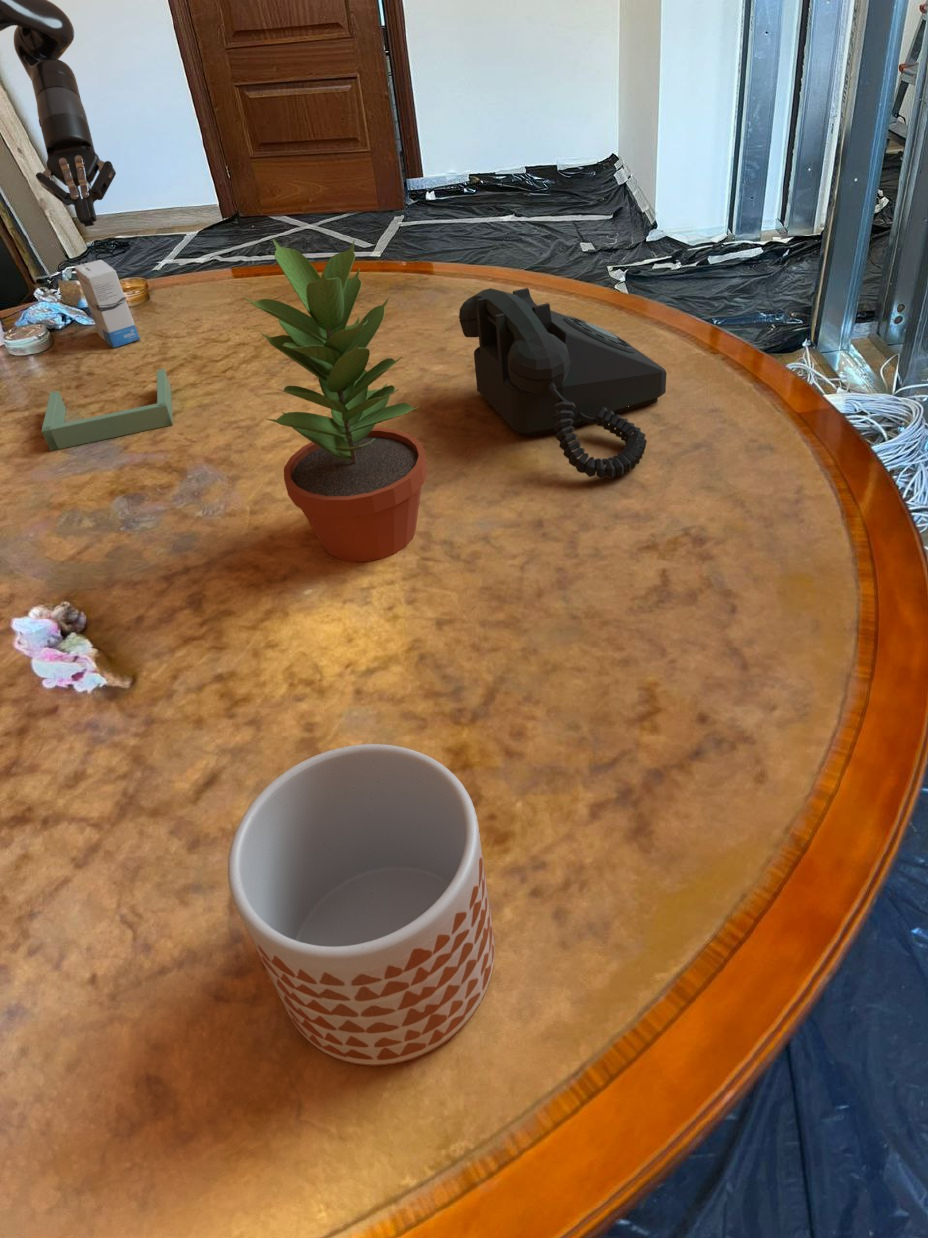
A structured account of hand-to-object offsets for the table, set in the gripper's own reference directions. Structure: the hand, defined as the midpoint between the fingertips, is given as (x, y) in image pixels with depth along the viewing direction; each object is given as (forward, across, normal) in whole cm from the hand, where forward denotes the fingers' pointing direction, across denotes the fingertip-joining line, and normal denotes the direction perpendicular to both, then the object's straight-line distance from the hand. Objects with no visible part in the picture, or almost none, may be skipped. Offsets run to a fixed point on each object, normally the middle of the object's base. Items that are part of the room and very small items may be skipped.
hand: (87, 223), depth 142 cm
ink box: (+18, 0, -5) cm, 19 cm away
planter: (+104, -23, +86) cm, 137 cm away
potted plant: (+71, -30, +51) cm, 93 cm away
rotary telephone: (+60, -60, +39) cm, 94 cm away
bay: (+40, -1, +19) cm, 44 cm away
